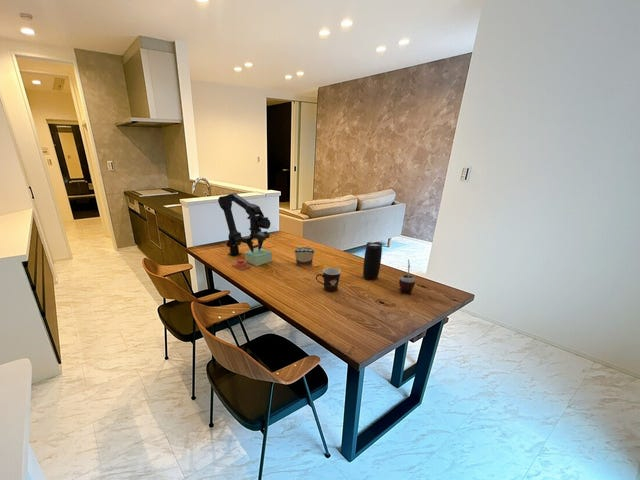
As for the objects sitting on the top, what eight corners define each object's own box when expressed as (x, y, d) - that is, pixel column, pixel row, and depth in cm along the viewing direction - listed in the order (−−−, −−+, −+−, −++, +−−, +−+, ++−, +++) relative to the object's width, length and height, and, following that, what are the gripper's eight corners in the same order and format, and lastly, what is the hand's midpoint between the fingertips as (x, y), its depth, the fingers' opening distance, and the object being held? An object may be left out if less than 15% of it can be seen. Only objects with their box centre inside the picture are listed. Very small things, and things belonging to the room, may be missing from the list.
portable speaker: (376, 274, 168) (381, 241, 160) (379, 281, 159) (384, 246, 151) (361, 273, 169) (365, 240, 161) (363, 280, 161) (367, 246, 153)
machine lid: (244, 253, 189) (244, 245, 187) (259, 248, 197) (259, 241, 195) (256, 258, 181) (255, 250, 179) (271, 253, 188) (271, 245, 186)
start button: (236, 262, 182) (236, 260, 181) (241, 261, 184) (241, 258, 183) (240, 264, 179) (239, 261, 178) (244, 262, 181) (244, 260, 180)
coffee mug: (340, 286, 154) (341, 269, 150) (337, 294, 147) (339, 275, 143) (318, 284, 158) (319, 266, 154) (314, 291, 151) (315, 272, 146)
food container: (313, 261, 188) (314, 246, 184) (314, 265, 182) (314, 250, 178) (294, 261, 189) (294, 246, 185) (294, 265, 183) (294, 249, 179)
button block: (232, 266, 184) (231, 261, 183) (240, 263, 188) (240, 258, 187) (241, 270, 177) (241, 265, 176) (250, 267, 181) (249, 263, 180)
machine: (245, 261, 191) (245, 253, 189) (260, 256, 198) (260, 249, 196) (256, 266, 183) (256, 258, 181) (272, 261, 190) (271, 253, 188)
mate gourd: (406, 296, 144) (411, 267, 138) (393, 289, 150) (397, 262, 144) (416, 292, 147) (422, 264, 141) (403, 286, 153) (408, 259, 147)
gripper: (250, 231, 172) (251, 257, 179) (274, 226, 183) (275, 250, 190) (239, 228, 180) (241, 252, 186) (263, 223, 191) (264, 246, 197)
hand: (256, 250), depth 190 cm, fingers open, 6 cm apart
